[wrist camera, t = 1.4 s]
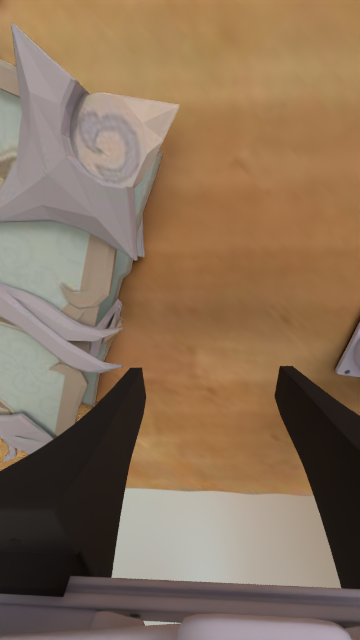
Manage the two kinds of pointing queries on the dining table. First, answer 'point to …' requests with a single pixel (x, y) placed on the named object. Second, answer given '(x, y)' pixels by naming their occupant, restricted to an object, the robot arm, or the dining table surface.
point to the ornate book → (65, 236)
